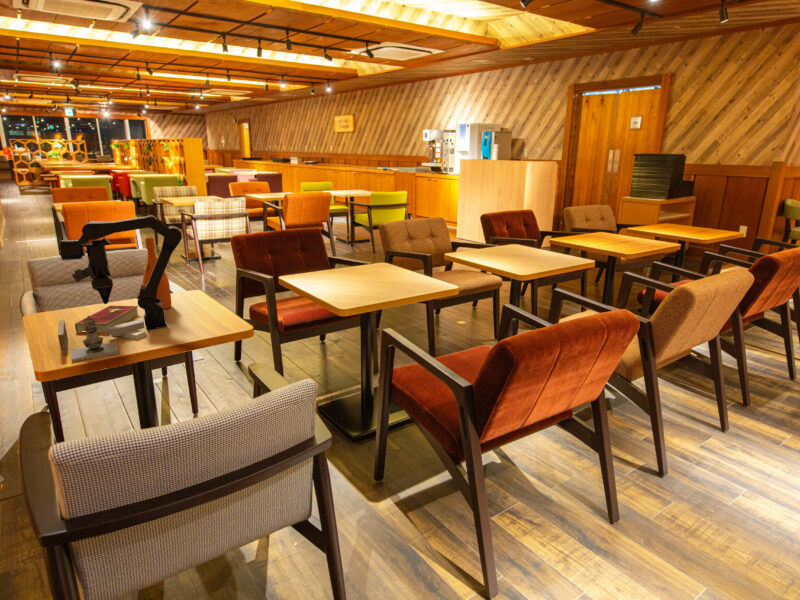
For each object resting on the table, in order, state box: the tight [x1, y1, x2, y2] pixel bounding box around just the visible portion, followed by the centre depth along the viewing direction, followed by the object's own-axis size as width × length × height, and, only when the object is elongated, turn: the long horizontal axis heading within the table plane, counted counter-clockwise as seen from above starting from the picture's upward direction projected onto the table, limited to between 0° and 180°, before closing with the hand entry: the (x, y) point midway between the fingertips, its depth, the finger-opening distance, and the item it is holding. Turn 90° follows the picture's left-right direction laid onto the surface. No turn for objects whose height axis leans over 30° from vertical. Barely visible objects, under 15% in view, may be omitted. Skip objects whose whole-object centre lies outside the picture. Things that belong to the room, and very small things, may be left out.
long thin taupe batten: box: [57, 319, 69, 356], centre depth 167 cm, size 2×16×7 cm, turn 32°
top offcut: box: [107, 319, 145, 337], centre depth 177 cm, size 4×11×2 cm, turn 141°
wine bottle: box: [142, 236, 172, 311], centre depth 204 cm, size 10×10×30 cm
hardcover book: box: [74, 305, 139, 333], centre depth 190 cm, size 12×21×4 cm, turn 178°
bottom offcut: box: [115, 329, 147, 340], centre depth 178 cm, size 4×12×2 cm, turn 70°
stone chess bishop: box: [82, 315, 104, 353], centre depth 161 cm, size 6×6×12 cm
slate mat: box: [70, 341, 120, 363], centre depth 163 cm, size 13×9×1 cm
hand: (105, 300), depth 178 cm, fingers open, 9 cm apart
